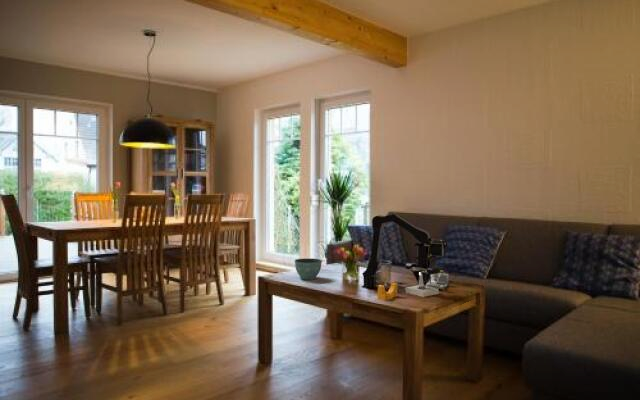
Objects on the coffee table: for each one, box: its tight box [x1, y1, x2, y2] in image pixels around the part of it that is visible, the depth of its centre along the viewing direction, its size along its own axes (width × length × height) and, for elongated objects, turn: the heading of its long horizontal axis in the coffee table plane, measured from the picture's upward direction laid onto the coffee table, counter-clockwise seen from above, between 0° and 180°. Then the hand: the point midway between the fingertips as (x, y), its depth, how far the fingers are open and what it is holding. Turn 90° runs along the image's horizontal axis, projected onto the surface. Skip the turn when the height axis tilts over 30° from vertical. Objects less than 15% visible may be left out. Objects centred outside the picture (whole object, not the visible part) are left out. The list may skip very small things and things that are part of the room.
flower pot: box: [294, 258, 323, 281], centre depth 280 cm, size 16×16×11 cm
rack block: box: [405, 284, 439, 298], centre depth 248 cm, size 12×12×2 cm
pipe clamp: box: [377, 283, 398, 301], centre depth 236 cm, size 12×4×6 cm, turn 132°
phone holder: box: [426, 273, 451, 292], centre depth 262 cm, size 18×10×12 cm
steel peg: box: [418, 272, 426, 290], centre depth 248 cm, size 4×4×10 cm
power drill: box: [419, 237, 450, 282], centre depth 281 cm, size 9×17×25 cm, turn 68°
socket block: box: [385, 280, 419, 292], centre depth 259 cm, size 12×12×2 cm
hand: (422, 284), depth 248 cm, fingers closed on steel peg, 4 cm apart
